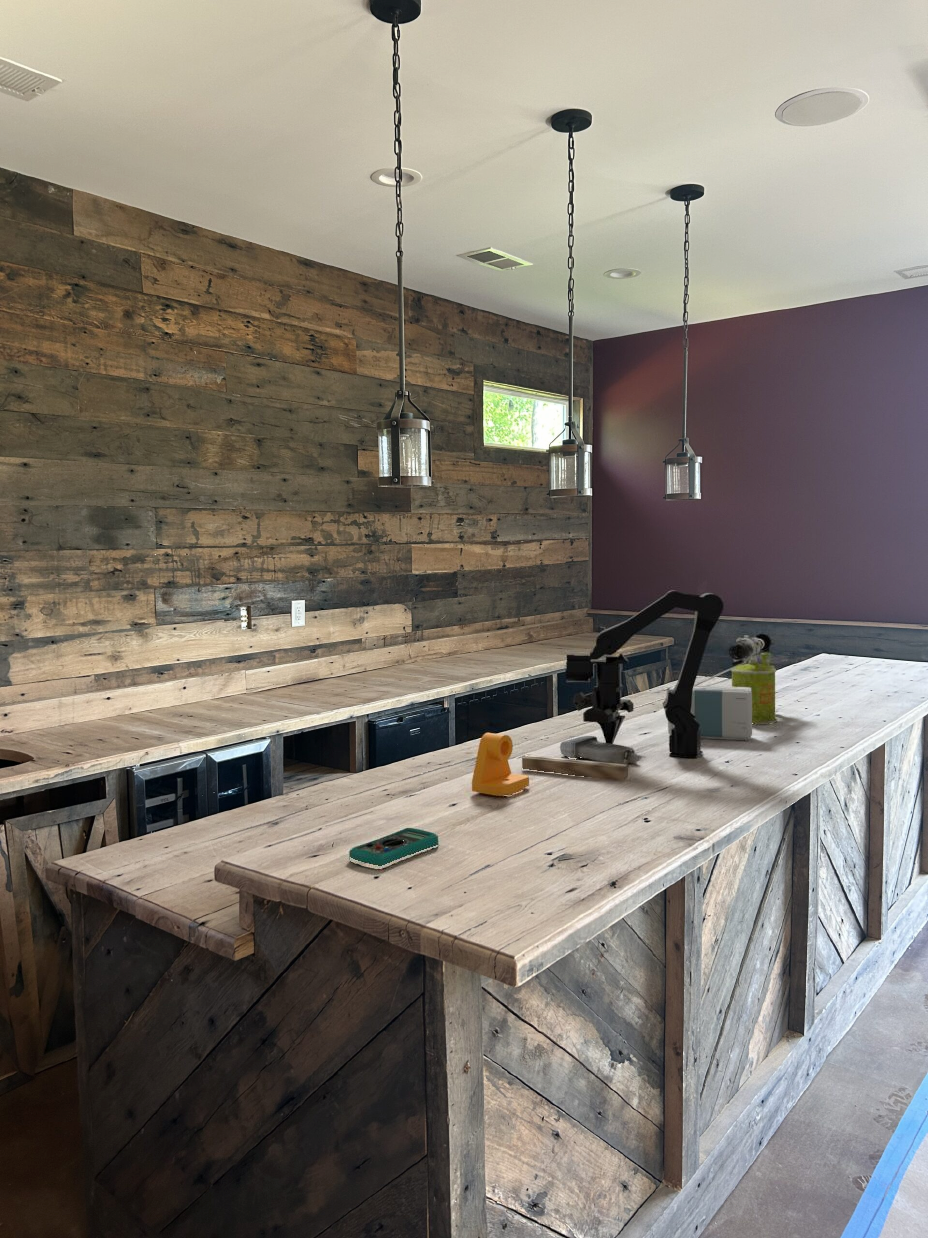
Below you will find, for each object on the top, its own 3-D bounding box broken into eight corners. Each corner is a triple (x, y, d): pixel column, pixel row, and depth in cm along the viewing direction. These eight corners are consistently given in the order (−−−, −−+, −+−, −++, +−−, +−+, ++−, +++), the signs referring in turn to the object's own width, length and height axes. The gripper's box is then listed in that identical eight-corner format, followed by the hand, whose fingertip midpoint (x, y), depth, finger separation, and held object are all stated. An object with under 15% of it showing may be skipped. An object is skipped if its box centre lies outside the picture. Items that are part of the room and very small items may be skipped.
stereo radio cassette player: (667, 738, 238) (666, 662, 236) (672, 732, 245) (671, 659, 244) (751, 743, 230) (750, 664, 228) (753, 736, 237) (753, 660, 236)
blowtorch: (790, 713, 270) (790, 629, 268) (761, 732, 242) (761, 639, 240) (745, 710, 277) (745, 628, 275) (712, 728, 249) (712, 637, 247)
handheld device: (628, 770, 205) (628, 749, 205) (556, 759, 218) (555, 740, 218) (650, 762, 212) (650, 742, 212) (579, 752, 226) (578, 733, 225)
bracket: (500, 800, 182) (499, 741, 181) (472, 795, 186) (470, 737, 185) (531, 788, 190) (530, 732, 189) (503, 784, 195) (502, 728, 194)
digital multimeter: (345, 865, 146) (345, 847, 146) (408, 841, 158) (408, 824, 158) (378, 874, 142) (377, 856, 142) (440, 849, 153) (440, 832, 153)
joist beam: (628, 778, 196) (628, 763, 196) (623, 781, 194) (623, 766, 194) (528, 768, 208) (527, 754, 208) (522, 770, 206) (522, 756, 205)
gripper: (592, 675, 231) (592, 736, 233) (562, 685, 215) (563, 750, 216) (633, 677, 226) (634, 739, 227) (606, 687, 210) (607, 754, 211)
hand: (609, 745), depth 220 cm, fingers closed
